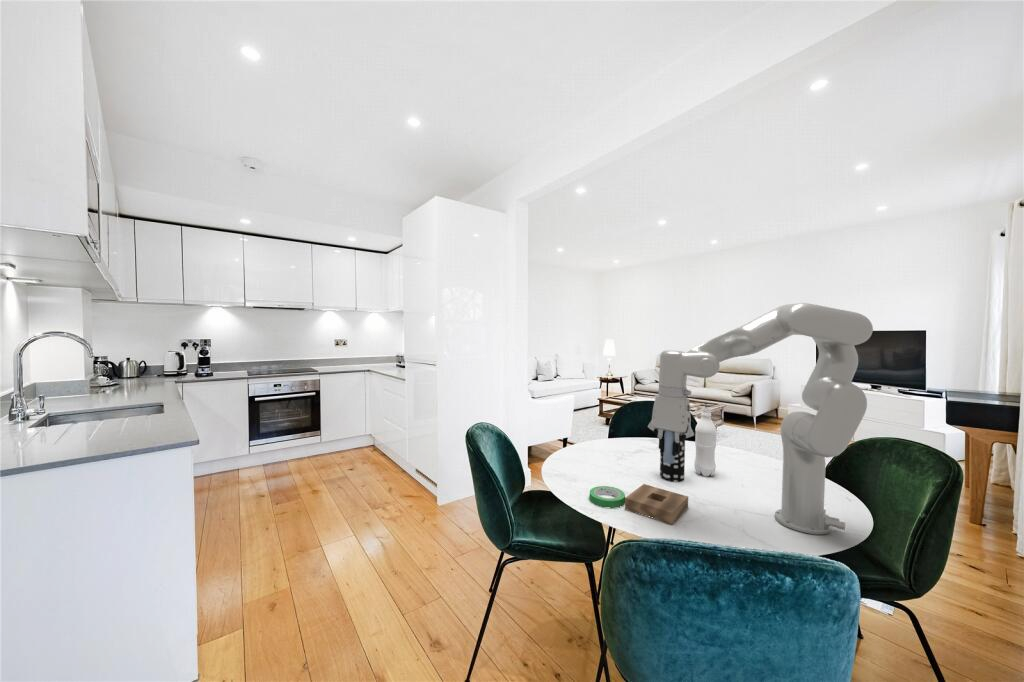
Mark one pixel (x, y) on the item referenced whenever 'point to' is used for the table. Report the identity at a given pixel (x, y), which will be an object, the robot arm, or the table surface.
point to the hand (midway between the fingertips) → (669, 452)
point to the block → (657, 503)
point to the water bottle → (705, 444)
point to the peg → (668, 446)
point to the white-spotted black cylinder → (674, 466)
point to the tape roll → (607, 501)
